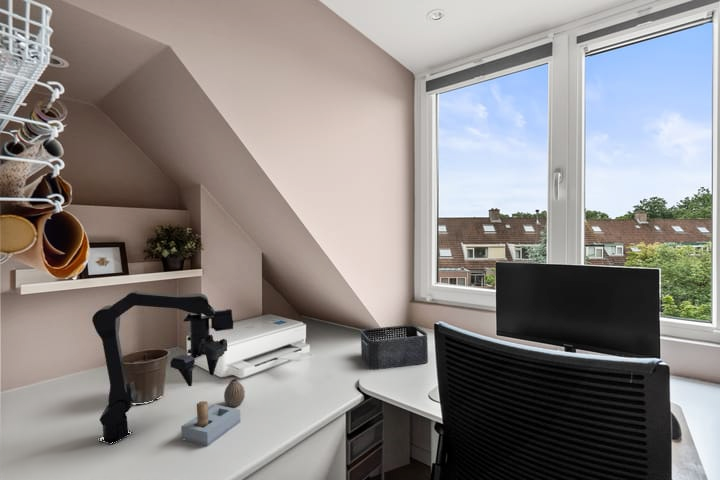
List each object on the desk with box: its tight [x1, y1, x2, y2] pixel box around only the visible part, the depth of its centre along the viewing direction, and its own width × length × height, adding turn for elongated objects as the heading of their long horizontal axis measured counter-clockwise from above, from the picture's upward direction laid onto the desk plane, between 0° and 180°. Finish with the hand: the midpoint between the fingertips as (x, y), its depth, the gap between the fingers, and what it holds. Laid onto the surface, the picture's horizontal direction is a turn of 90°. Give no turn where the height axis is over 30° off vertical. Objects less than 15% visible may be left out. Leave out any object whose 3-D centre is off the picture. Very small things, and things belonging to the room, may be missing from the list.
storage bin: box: [360, 324, 429, 370], centre depth 171 cm, size 29×19×13 cm
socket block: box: [180, 404, 241, 447], centre depth 112 cm, size 10×14×4 cm
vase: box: [223, 378, 246, 408], centre depth 129 cm, size 7×7×9 cm
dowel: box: [196, 400, 209, 428], centre depth 109 cm, size 3×3×9 cm
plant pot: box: [122, 348, 171, 403], centre depth 135 cm, size 16×16×16 cm
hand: (201, 380), depth 119 cm, fingers open, 9 cm apart
